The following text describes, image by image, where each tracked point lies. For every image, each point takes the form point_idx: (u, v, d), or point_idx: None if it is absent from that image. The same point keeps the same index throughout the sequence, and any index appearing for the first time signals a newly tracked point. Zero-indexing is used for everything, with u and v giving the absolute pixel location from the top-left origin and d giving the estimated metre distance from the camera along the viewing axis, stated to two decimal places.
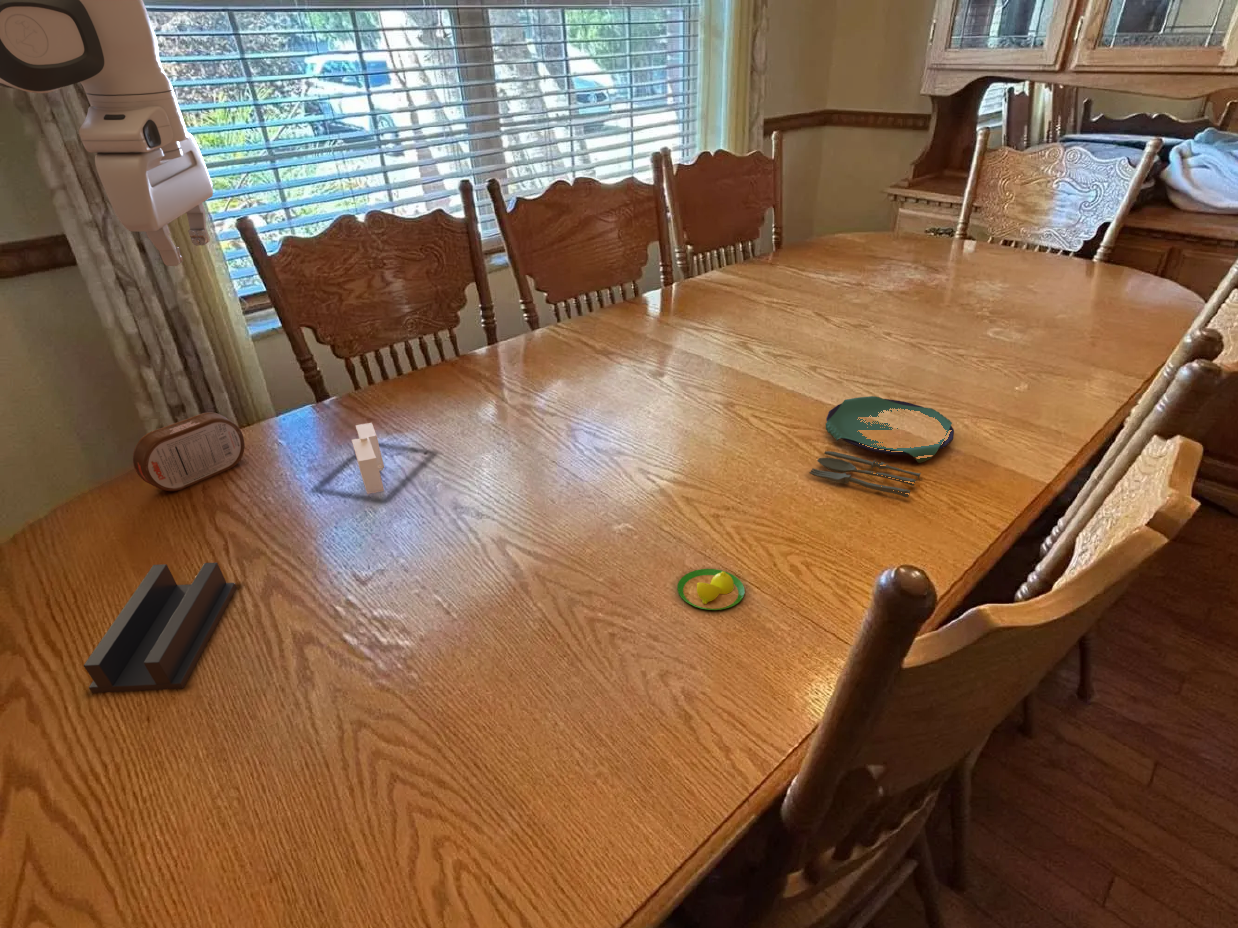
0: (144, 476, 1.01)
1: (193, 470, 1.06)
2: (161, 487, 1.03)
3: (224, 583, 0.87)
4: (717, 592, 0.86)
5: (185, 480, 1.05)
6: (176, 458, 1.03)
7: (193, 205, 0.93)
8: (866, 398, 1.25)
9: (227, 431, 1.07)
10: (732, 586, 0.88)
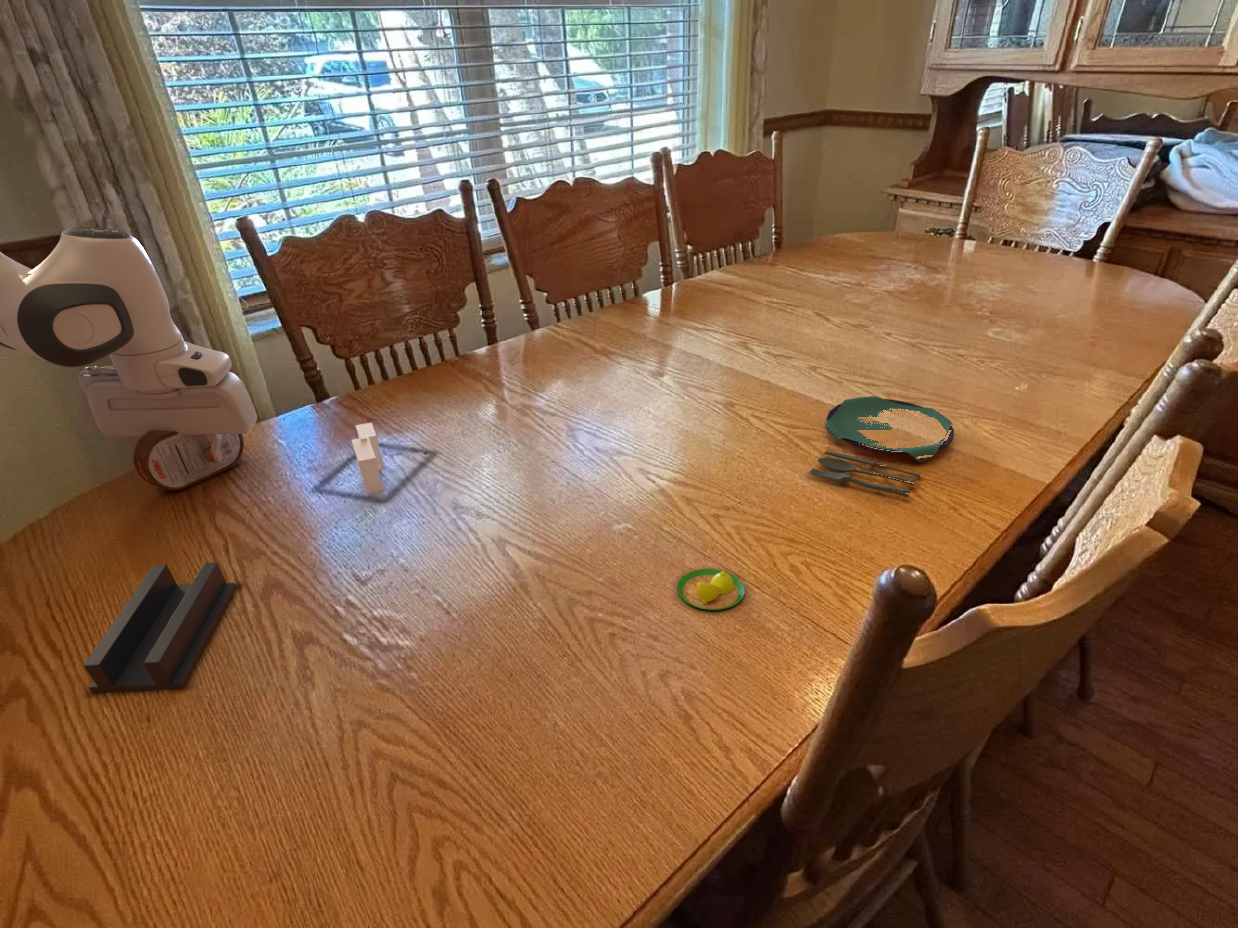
0: (145, 475, 1.01)
1: (194, 469, 1.06)
2: (162, 486, 1.03)
3: (224, 583, 0.87)
4: (717, 592, 0.86)
5: (186, 478, 1.05)
6: (176, 456, 1.03)
7: None
8: (866, 398, 1.25)
9: None
10: (732, 586, 0.88)
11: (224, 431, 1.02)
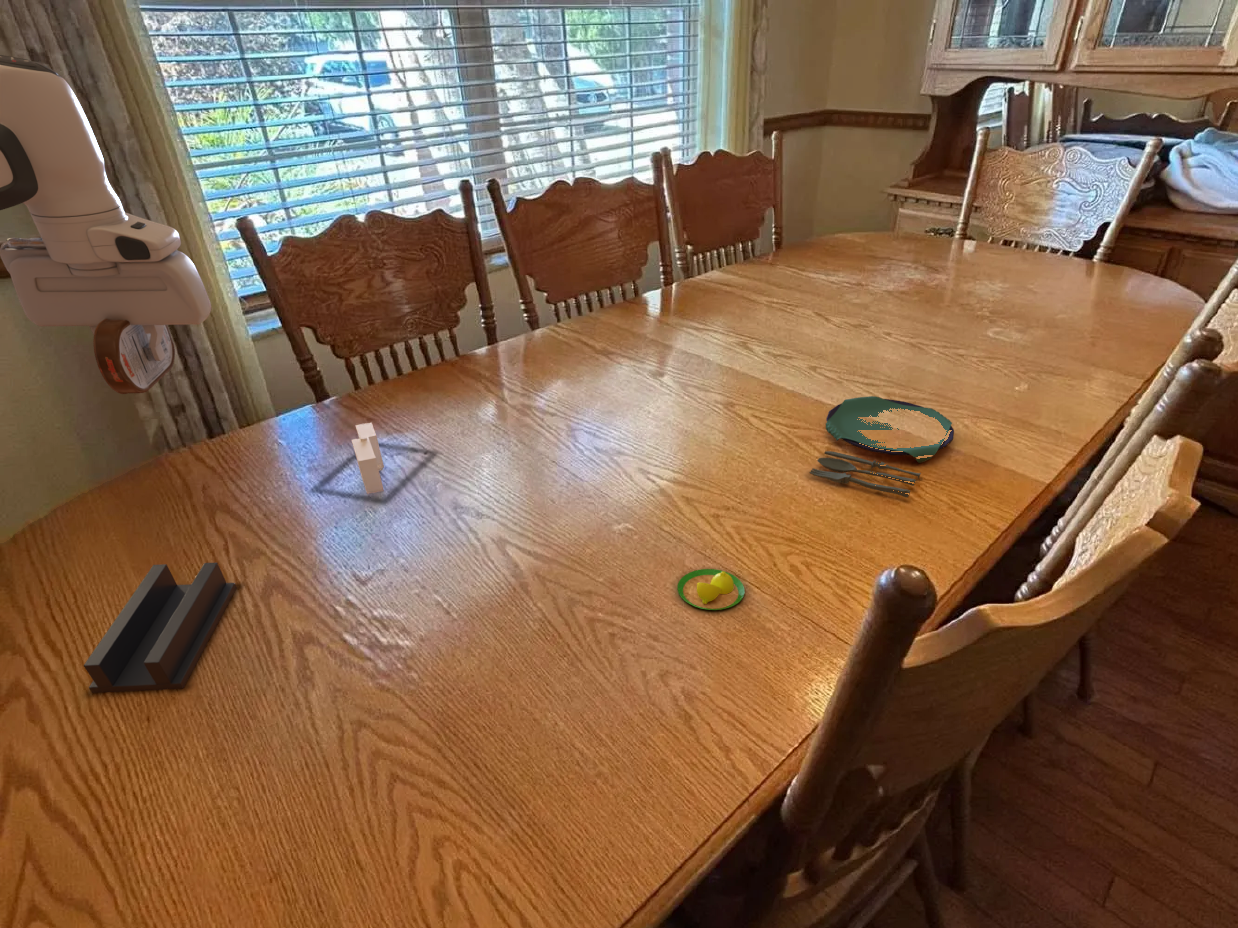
0: (117, 373, 0.87)
1: (149, 367, 0.93)
2: (135, 386, 0.89)
3: (224, 583, 0.87)
4: (717, 592, 0.86)
5: (146, 379, 0.92)
6: (135, 351, 0.90)
7: None
8: (866, 398, 1.25)
9: None
10: (732, 586, 0.88)
11: (172, 321, 0.89)
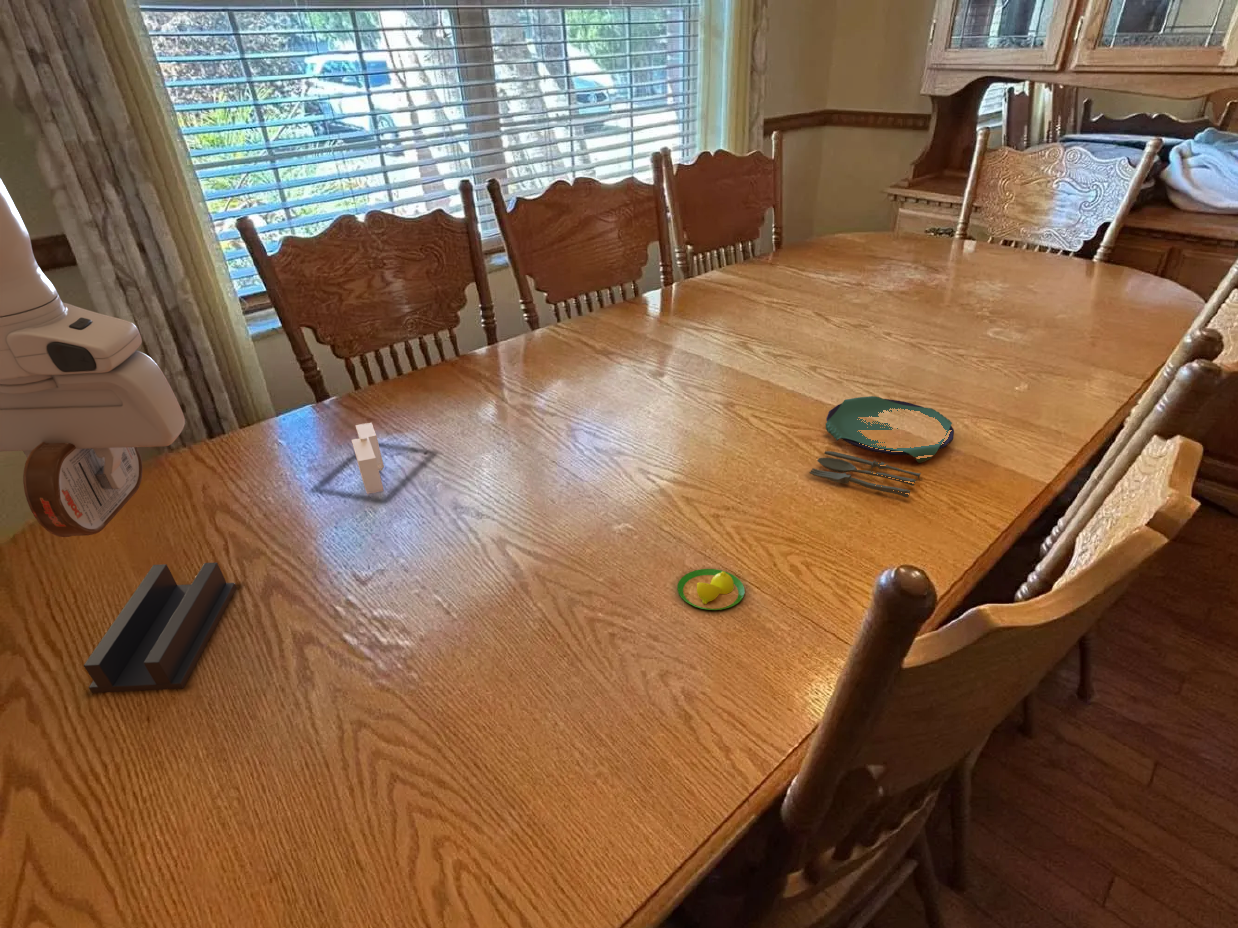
0: (57, 517, 0.65)
1: (105, 497, 0.70)
2: (83, 529, 0.67)
3: (224, 583, 0.87)
4: (717, 592, 0.86)
5: (101, 514, 0.70)
6: (84, 481, 0.68)
7: None
8: (866, 398, 1.25)
9: None
10: (732, 586, 0.88)
11: (132, 443, 0.66)
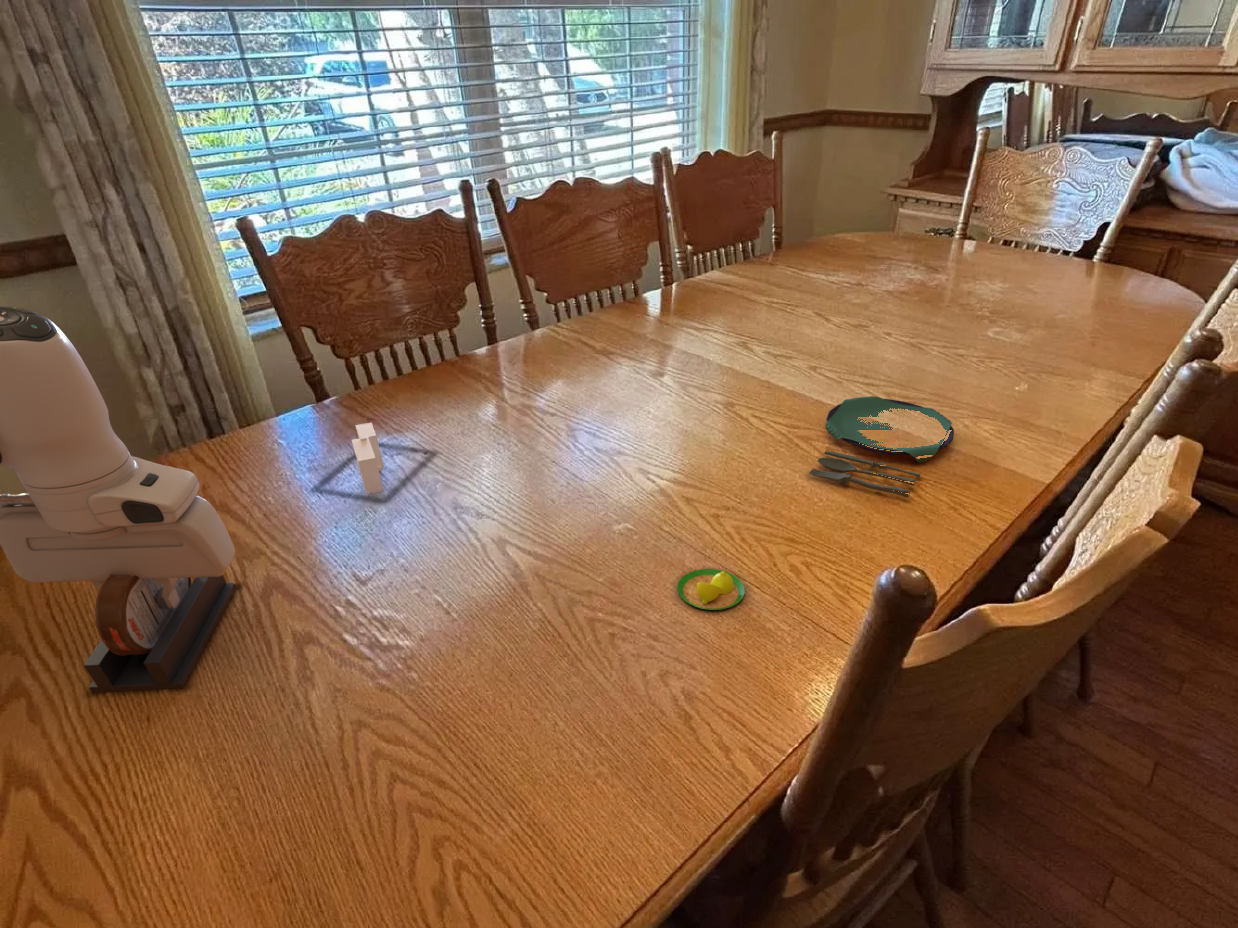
0: (124, 643, 0.73)
1: (161, 616, 0.79)
2: (144, 650, 0.75)
3: (224, 583, 0.87)
4: (717, 592, 0.86)
5: (158, 632, 0.78)
6: (145, 606, 0.76)
7: None
8: (866, 398, 1.25)
9: None
10: (732, 586, 0.88)
11: (189, 574, 0.75)
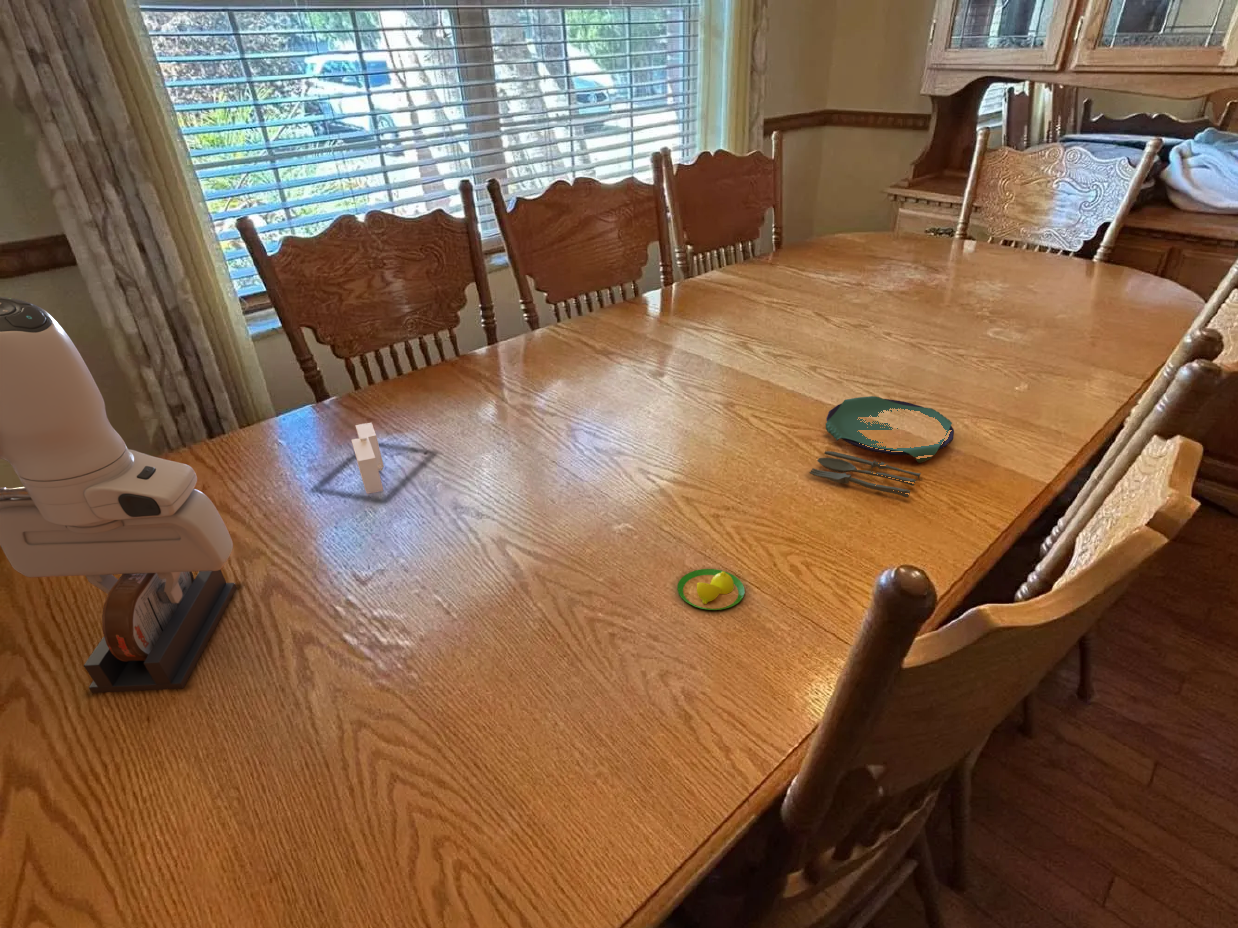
0: (129, 650, 0.73)
1: (165, 622, 0.79)
2: None
3: (224, 583, 0.87)
4: (717, 592, 0.86)
5: None
6: (151, 613, 0.76)
7: None
8: (866, 398, 1.25)
9: None
10: (732, 586, 0.88)
11: (187, 569, 0.74)
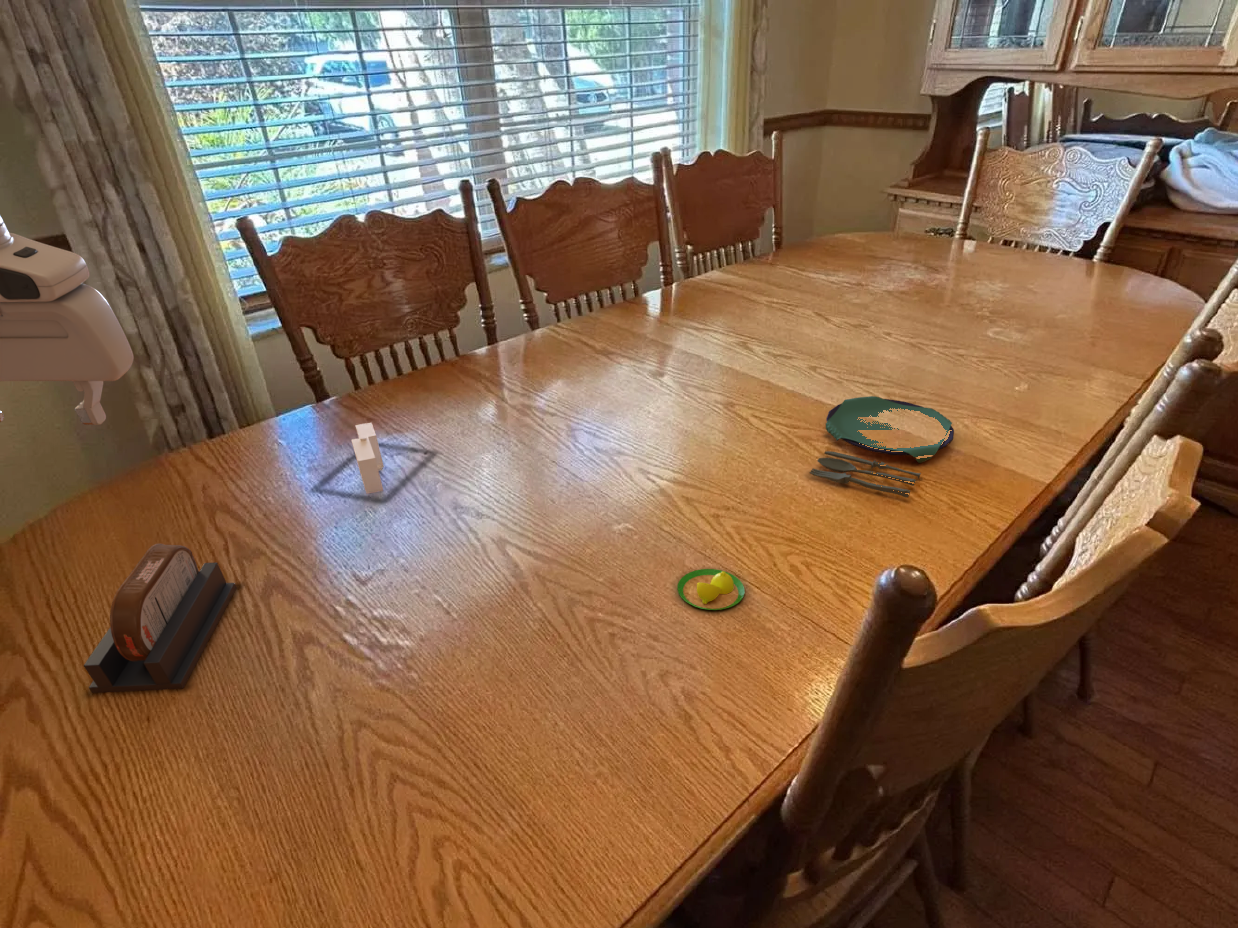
0: (137, 649, 0.73)
1: None
2: None
3: (224, 583, 0.87)
4: (717, 592, 0.86)
5: None
6: (158, 613, 0.76)
7: None
8: (866, 398, 1.25)
9: (184, 560, 0.82)
10: (732, 586, 0.88)
11: (78, 376, 0.67)
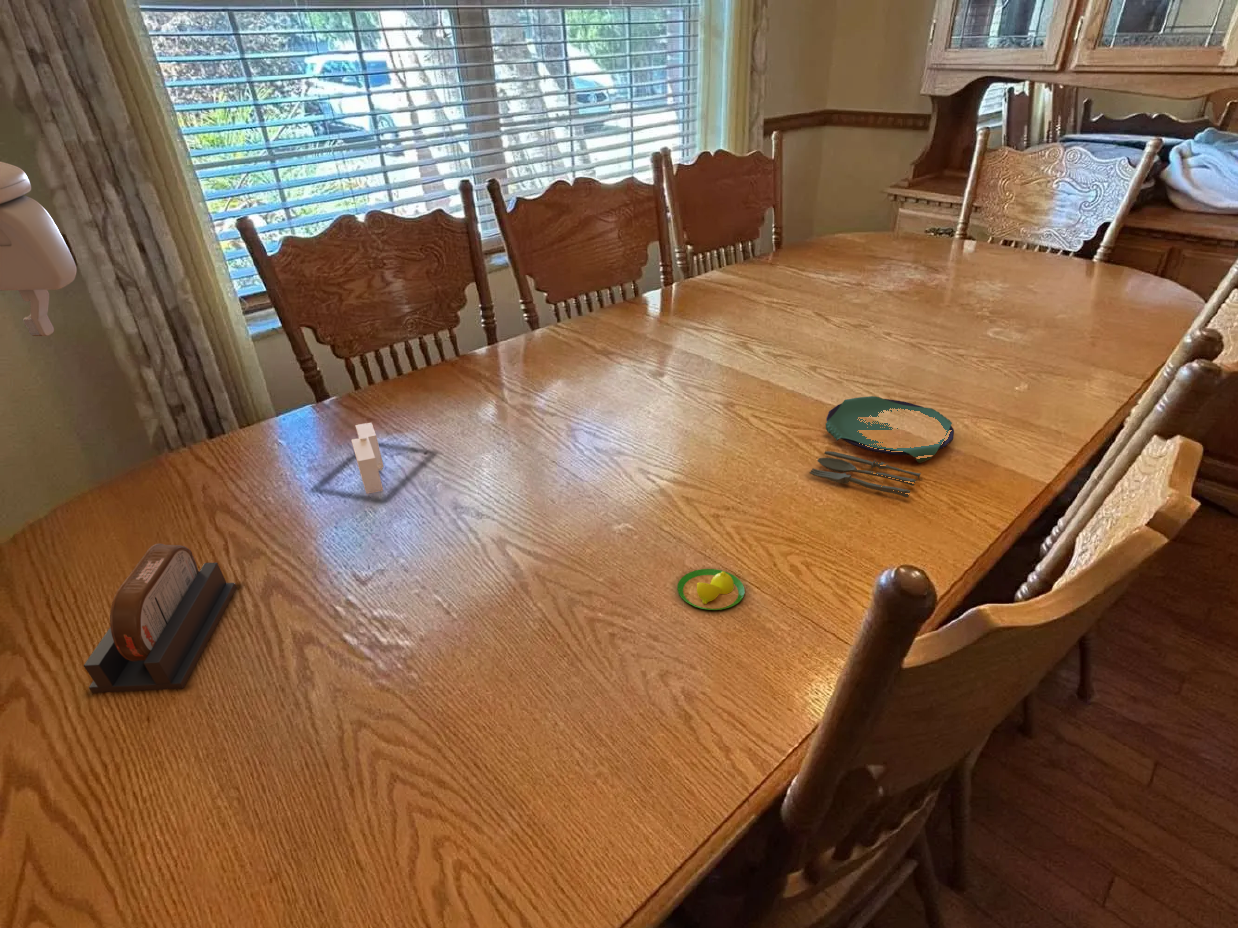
0: (137, 649, 0.73)
1: None
2: None
3: (224, 583, 0.87)
4: (717, 592, 0.86)
5: None
6: (158, 613, 0.76)
7: None
8: (866, 398, 1.25)
9: (184, 560, 0.82)
10: (732, 586, 0.88)
11: (23, 285, 0.71)
